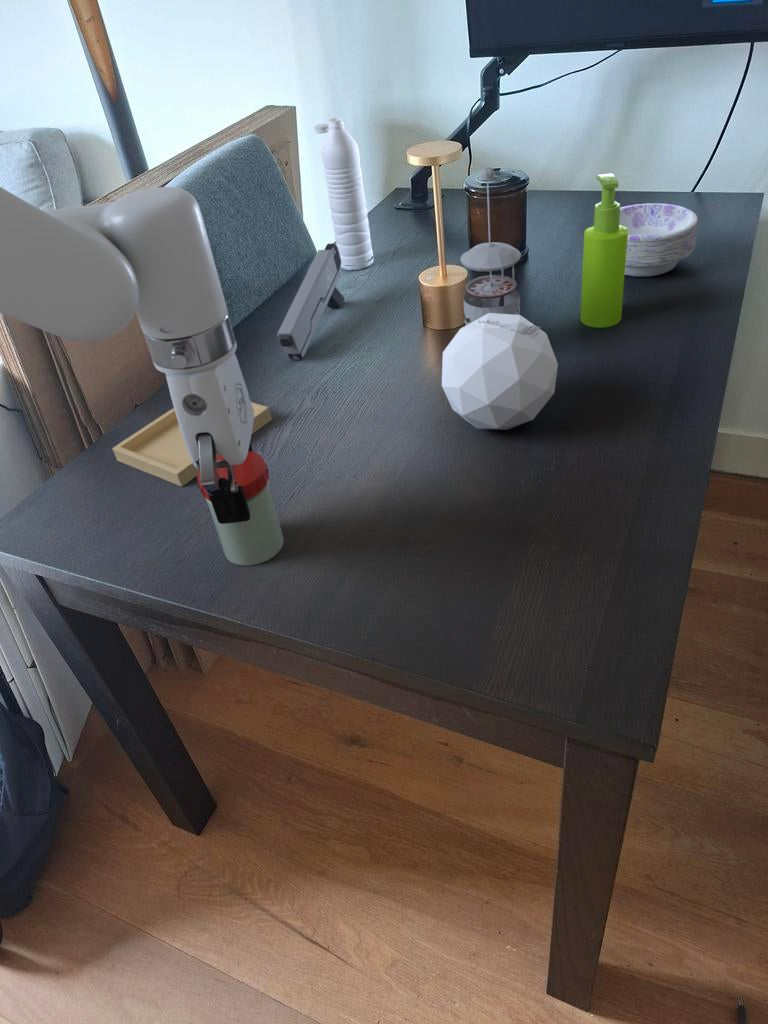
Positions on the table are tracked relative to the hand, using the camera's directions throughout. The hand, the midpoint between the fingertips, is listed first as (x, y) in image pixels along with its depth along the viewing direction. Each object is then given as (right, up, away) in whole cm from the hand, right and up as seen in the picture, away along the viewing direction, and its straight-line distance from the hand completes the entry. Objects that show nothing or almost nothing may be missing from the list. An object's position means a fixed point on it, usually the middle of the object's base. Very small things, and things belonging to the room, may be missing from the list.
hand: (239, 495), depth 78 cm
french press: (+31, +22, +33) cm, 51 cm away
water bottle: (+9, +44, +64) cm, 78 cm away
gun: (+4, +28, +44) cm, 52 cm away
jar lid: (0, +2, -2) cm, 3 cm away
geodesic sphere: (+30, +10, +18) cm, 36 cm away
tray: (-10, +8, +23) cm, 26 cm away
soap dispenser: (+47, +27, +36) cm, 65 cm away
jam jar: (+1, -5, +4) cm, 7 cm away
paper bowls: (+58, +39, +48) cm, 85 cm away
